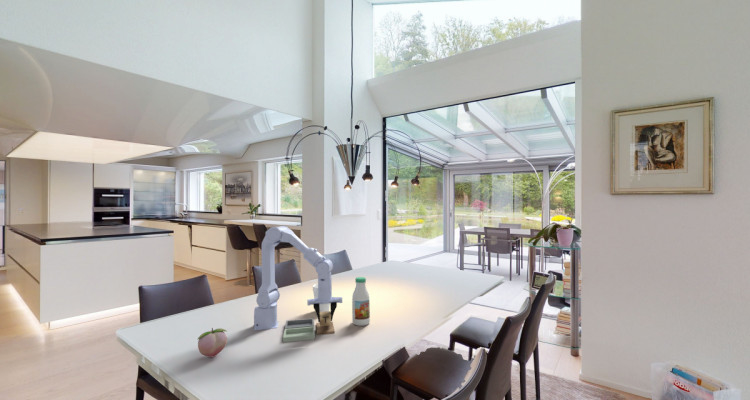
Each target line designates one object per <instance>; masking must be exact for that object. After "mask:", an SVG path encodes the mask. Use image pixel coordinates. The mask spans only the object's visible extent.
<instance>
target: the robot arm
mask: <svg viewBox="0 0 750 400" xmlns="http://www.w3.org/2000/svg"><path fill="white" fill-rule="evenodd" d="M280 243H289V244H290V245H291V246H293V247H294V248H295V249H297V250H298V251H299V252H300V253H301V254H303V259H304V260H306V262H308V263H309V264H310V265H311V266H312V267H314V269H315V272H316V273H317V284H318V298H316V299H314V298H311V299H310V298H309V299H307V306H313V309H314V311H315V313H316V316H317V323H320V307H319V304H328V303H330V307H329V310H330V313H331V322H333V317H334V313H335V311H336V309H337V307H338V306H337V305H338V304H342V303H343V297H342V296H340V297H339V296H337V297H334V296H332V295H333V284H332V283H333V282H332V279H333V278H332V270H333V268H334V264H333V262H332V260H331V259H330V258H326V256H324V255H322V254H321V253H320V252H318V251H319V250H318V249H317V248H314V247H309V246H308V245H307V244H305V242H304V241H303V240H302V239H300V237H298V236H297V235H296V234H295V232H294V231H293V230H292V229H290V228H289V227H287V226H286V225H280V226H271V227H270V228H268V229H267V230H266V231H265V236H264V238H263V240H262V241H261V286H260V287H259V288H258V292H257V296H256V301H255V302H256V305H257V306H255V307H254V311H253V331H259V330H260V331H261V330H271V329H278V326H279V323H280V322H279V320H278V300H280V296H281V294H280V291H279V289H278V288H279V286H278V285H277V283H276V266H275V265H276V262H275V260H276V259H275V258H276V257H275V256H276V255H275V251H276V250H275V249H276V248H275V247H277V246H278V245H279V244H280Z"/></svg>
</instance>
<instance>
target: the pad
mask: <svg viewBox="0 0 750 400" xmlns="http://www.w3.org/2000/svg"><path fill="white" fill-rule="evenodd" d="M335 332H336V331H335V325H334V322H333V321H331V325H329V326H320V322H316V335H319V336H321V335H330V334H335Z"/></svg>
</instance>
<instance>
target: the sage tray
mask: <svg viewBox="0 0 750 400" xmlns="http://www.w3.org/2000/svg"><path fill="white" fill-rule="evenodd" d="M315 331H316V330H315V326H314V327H303V328H292V329H285V328H284V331H283V337H282V342H283V343H288V342H289V343H290V342H299V341H309V340H315V338H316V336H315V335H316V334H315V333H316V332H315Z"/></svg>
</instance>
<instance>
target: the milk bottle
mask: <svg viewBox="0 0 750 400" xmlns="http://www.w3.org/2000/svg"><path fill="white" fill-rule="evenodd" d="M366 281H367V279H366V277H365V276H364V277H363V276H359V277H358V276H357V277H356V278H355V281H354V282H355V287H354V290H353V293H352V299H351V303H352V304H351V308H352V310H351V311H352V312H351V316H352V318H351V319H352V321H351V322H352V324H353V325H354V326H357V327H359V326H360V327H362V326H363V327H364V326H368V325H369V324H370V321H371V319H370V318H371V315H370V314H371V312H370V306H371V305H370V294H369V291H368V289H367V286H366Z"/></svg>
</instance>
